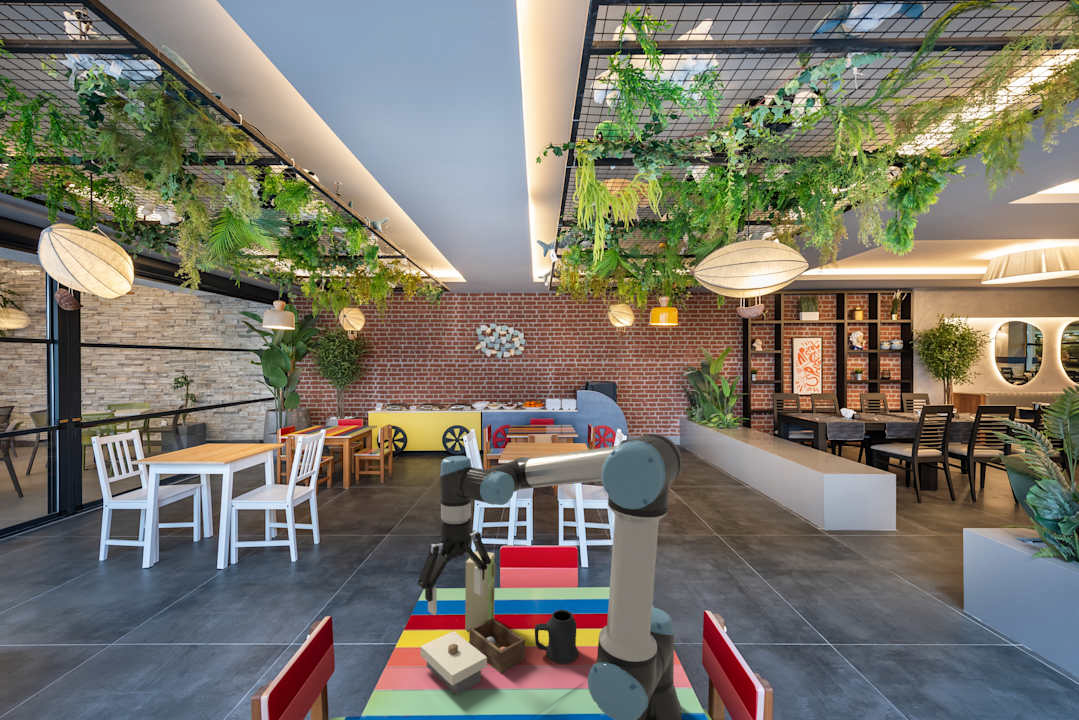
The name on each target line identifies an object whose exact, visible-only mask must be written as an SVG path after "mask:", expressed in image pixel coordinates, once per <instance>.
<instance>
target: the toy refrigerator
mask: <svg viewBox="0 0 1079 720" xmlns="http://www.w3.org/2000/svg"><path fill="white" fill-rule="evenodd" d="M473 552H474V553H475V554H476V555H477V556H478V557H479V558H480V559H481V557H480V555H479V553H478V551H477V550H476V551H473ZM487 553H488V555H489V557H490V560H491V563H490V564H487V569H486V570H484V580H482V595H481V596H480V595H478V594H477V593H475V592H474V567H478V566H477V565H476V564H475V563H474V562H473V561H472V560H471V559H470V558H469V557H468V559H467V560H466V561H465V600H464V601H465V604H464V605H465V606H464V607H465V608H464V609H465V613H464V615H465V618H464V619H465V620H464V622H465V624H464V625H465V627H464V629H465V631H468V632H469V629H470V628H473V627H475V626H477V625H479V624H481V623H483V622H485V621H488V620H490V619H492V618H493V619H495V593H496V591H495V576H496V563H495V559H496V557H495V552H488V551H487ZM481 560H482V559H481Z"/></svg>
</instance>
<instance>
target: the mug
mask: <svg viewBox="0 0 1079 720" xmlns="http://www.w3.org/2000/svg"><path fill="white" fill-rule="evenodd" d="M539 631H546V632H547V633H548V644H547V646H545V645H544V644H543V643H541V642H540V640H539ZM576 638H577V622H576V619H575V618H574V615H573V613H572V612H571V611H569V610H566V609H558V610H555V611H554V612H553V613H552V614H551V617H550V619H548V621H546V622H545V623H536V624H535V625H534V640H535V641H534V642H535V646H536V647H537V649H539V650H540V651H545V652H546V653H545V655H546V658H547V659H548V660H549V661H551V662H552V663H553V664H558V665H569V664H571V663H574V662H576V661H577V660H578V658H579V650H578V648H577V643H576V642H577V641H576V640H577V639H576Z"/></svg>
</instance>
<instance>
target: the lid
mask: <svg viewBox="0 0 1079 720" xmlns="http://www.w3.org/2000/svg"><path fill="white" fill-rule="evenodd" d="M420 657H421V658H422V659H424V660H425V662H426V663H427V662H428V663H429V664H430V665H431V666H432V667H433V668H434V669H435V670H436V671H437V672H438V673H439V674H440V675H441V676H442V677H443V678H445V679H446V680H447V681H448V682H449V683H450V684H451V685H452V686H453V685H455V684H456V683H458V682H460V681H462V680H464V679H465V678H467V677H469V676H471V675H473V674H475V673H476V672H478V671H480V670H481V671H482V670H483V669H485V668H487V667H488V663H487V657H486V656H485V655H484V654H482V653H481V652H480V651H479V650H477V649H476V648H475V647H474V646H472V645H471V644H470V643H469V641H467V640H466V639H465V638H464V637H462V636H461V635H460V634H459V633H457V632H456V631H455V630H453V631H450V632H448V633H446V634H444V635H442V636H440V637H437V638H435V639H432V640H431V641H429V642H427V643H425V644H422V645H421V646H420Z"/></svg>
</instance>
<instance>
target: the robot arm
mask: <svg viewBox="0 0 1079 720" xmlns="http://www.w3.org/2000/svg"><path fill="white" fill-rule="evenodd" d="M682 466H683V458H682V454H681V452H680V449H679V448H678V446H677V444H676V443H675V442H673V440H671V438H669V437H667V436H665V435H663V434H658V433H647V434H643V435H641V436H638V437H635V438H630V439H624V440H621V441H620V443H619V444H618V445H616V446H607V447H600V448H599V447H598V448H593V449H585V450H579V451H578V450H577V451H573V452H571V451H570V452H565V453H557V454H551V455H542V456H538V457H537V456H535V457H531V458H530V457H520V458H515V459H513V460H511V461H508V462H507V463H503V464H500V465H497V466H493V467H491V468H488V469H485V468H484V469H483V468H476V467H473V466H472V459H470V457H468V456H465V455H454V456H452V455H451V456H447V457H445V458H443V459H442V461H441V463H440V474H439V477H440V519H441V521H440V535H441V536H440V537H441V540H440V542H439V543H433V542H431V543H430V544H429V548H428V554H427V557H426V560H425V562H424V565H423V566H422V570H421V572H420V575H419V577H418V579H417V585H418V586H419V587H420V588H421V589H424V593H425V594H424V599H425V600H426V601H427V602H428V603H427V612H429V613H430V614H432V615H433V616H435V615H437V612H438V611H437V609H438V608H437V604H438V603H437V600H438V599H437V598H438V597H437V595H438V594H437V586H436V583H437V581H438V580H439V578H440V576H441V574H442V573H443V572H444V569H445V568H446V566H447V565H448V563H450V561H451V560H452V559H455V558H457V557H461V556H464V554H466V555H467V557H468V559H469V558H470V559H471V560H472V561H473V562H474V563H475V564H476V565H477V566H478V567H474V592H475V593H477V594H478V595H480V596H481V595H482V580H484V570H486V569H487V564H490V563H491V560H490V557H489V555H488V553H487V552H488V551H487V550H486V546H485V545H484V543H483V541H482V534H481V532H479V531H478V530H472V520H471V517H472V501H477V502H481V503H486V504H489V505H492V506H493V505H498V506H504V505H507V504H508V503H509V502H510V500H511V499H513V495H514V494H515V492H517V491H519V490H525V489H532V488H542V487H543V488H544V487H552V486H553V487H554V486H562V485H574V484H582V483H592V482H602V487H603V489H604V492H606V494H607V495H608V496H607V497H608V498H607V507H608V508H609V510H610V511H612V513H613V514H614V519H613V520H614V522H613V524H614V525H613V537H612V551H611V563H610V564H611V567H610V579H609V580H610V583H609V595H608V608H607V609H608V610H607V623H606V624H607V625H605V626H604V627H603V628H601V630H600V631H599V634H598V643H597V644H598V645H597V657H596V661H595V663H594V664H593V665H592V666H591V667H590V671H589V672H588V677H587V687H588V692H589V694H590V696H591V699H592V700H593V702H595V703H596V705H597V707H598V709H600V710H601V711H602V713H604V714H605V715H606V716H608V717H610V718H611V719H613V720H682V706H681V703H680V700H679V697H678V694H677V690H676V687H675V682H674V671H675V669H674V667H675V665H674V664H675V654H674V653H675V634H676V633H675V627H674V624H675V623H674V620H673V618H672V617H671V616H670V614H669V613H667V612H666V611H664V610H663V609H660V608H658V607H654V606H653V601H654V588H655V575H656V574H655V573H656V561H657V547H658V533H659V523H660V522H659V521H660V520H662V518H664V517H666V516H667V514H668V506H669V498H670V496H669V495H670V486H671V485H673V484H674V483H675V481H676V480H677V479H678V478H679V476H680V474H681V471H682ZM471 542H472V543H473V545H474V547H475V549H476V551H478V553H479V555H480V557H481V559H482V560H481V559H480V558H479V557H478V556H477V555H476V554H475V553H474V552H475V551H474V550H473V549H472V548H471V547H470V544H471Z"/></svg>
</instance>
